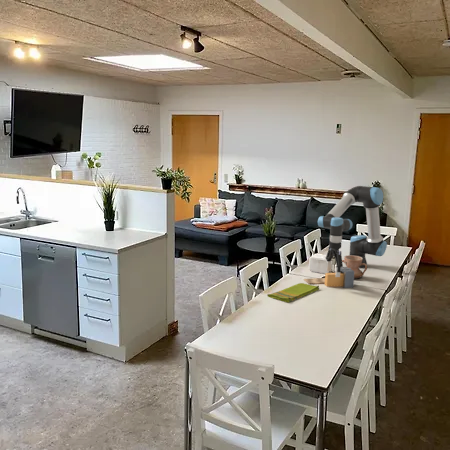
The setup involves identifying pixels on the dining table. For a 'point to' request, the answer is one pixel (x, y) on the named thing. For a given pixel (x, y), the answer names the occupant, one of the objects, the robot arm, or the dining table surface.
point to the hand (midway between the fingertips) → (333, 273)
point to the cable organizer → (318, 263)
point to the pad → (315, 281)
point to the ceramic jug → (355, 265)
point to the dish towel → (293, 292)
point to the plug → (334, 280)
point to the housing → (348, 277)
